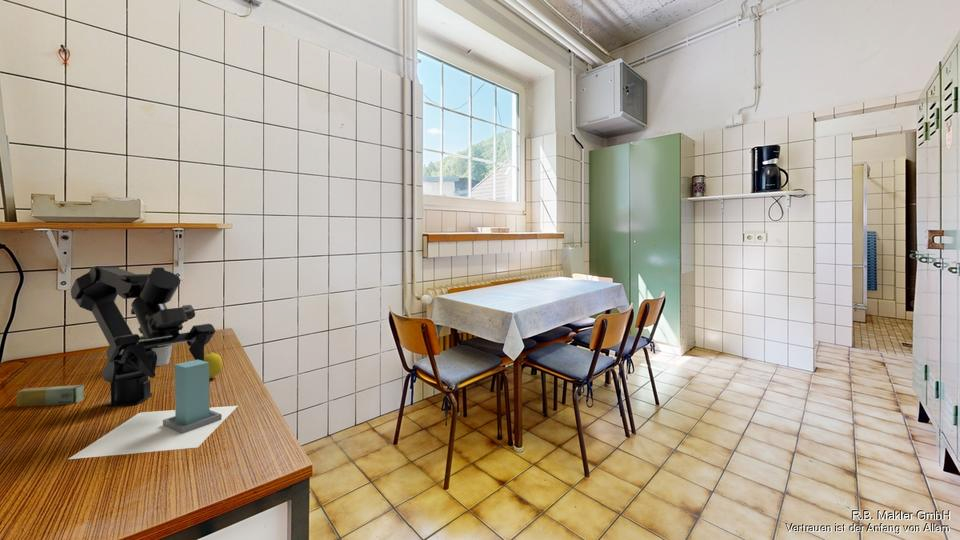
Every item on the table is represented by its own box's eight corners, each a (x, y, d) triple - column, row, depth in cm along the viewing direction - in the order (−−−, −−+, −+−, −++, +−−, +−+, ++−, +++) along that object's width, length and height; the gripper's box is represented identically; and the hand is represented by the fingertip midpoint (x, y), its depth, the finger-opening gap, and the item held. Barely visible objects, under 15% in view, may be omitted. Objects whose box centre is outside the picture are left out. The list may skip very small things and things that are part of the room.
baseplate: (67, 464, 66) (67, 459, 66) (139, 416, 86) (139, 412, 86) (197, 452, 71) (197, 447, 71) (238, 409, 91) (238, 405, 91)
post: (175, 424, 80) (174, 364, 80) (198, 416, 84) (197, 359, 84) (186, 429, 78) (185, 367, 78) (209, 420, 82) (208, 362, 82)
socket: (162, 425, 80) (162, 419, 80) (202, 412, 87) (202, 407, 86) (181, 433, 76) (181, 428, 76) (221, 419, 83) (221, 414, 83)
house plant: (189, 355, 136) (188, 310, 135) (192, 364, 126) (191, 315, 125) (135, 362, 127) (134, 314, 126) (134, 372, 116) (133, 320, 115)
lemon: (207, 375, 115) (207, 349, 114) (226, 375, 115) (226, 349, 115) (195, 381, 109) (195, 354, 109) (215, 381, 109) (215, 354, 109)
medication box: (85, 400, 95) (84, 384, 95) (76, 403, 93) (76, 387, 93) (26, 403, 93) (25, 387, 93) (15, 407, 90) (15, 391, 90)
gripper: (111, 298, 77) (138, 360, 72) (211, 291, 93) (237, 340, 89) (95, 332, 81) (120, 392, 76) (194, 319, 97) (218, 368, 93)
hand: (179, 371), depth 83 cm, fingers open, 9 cm apart
